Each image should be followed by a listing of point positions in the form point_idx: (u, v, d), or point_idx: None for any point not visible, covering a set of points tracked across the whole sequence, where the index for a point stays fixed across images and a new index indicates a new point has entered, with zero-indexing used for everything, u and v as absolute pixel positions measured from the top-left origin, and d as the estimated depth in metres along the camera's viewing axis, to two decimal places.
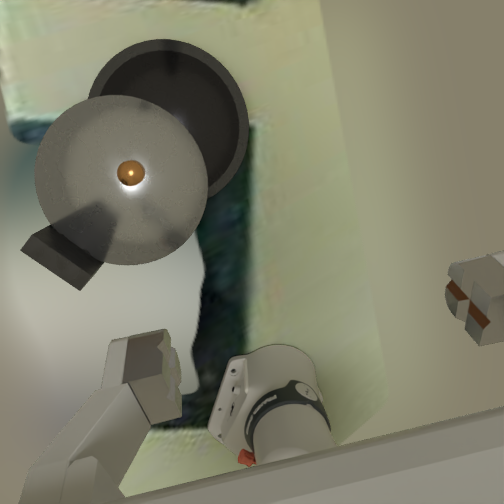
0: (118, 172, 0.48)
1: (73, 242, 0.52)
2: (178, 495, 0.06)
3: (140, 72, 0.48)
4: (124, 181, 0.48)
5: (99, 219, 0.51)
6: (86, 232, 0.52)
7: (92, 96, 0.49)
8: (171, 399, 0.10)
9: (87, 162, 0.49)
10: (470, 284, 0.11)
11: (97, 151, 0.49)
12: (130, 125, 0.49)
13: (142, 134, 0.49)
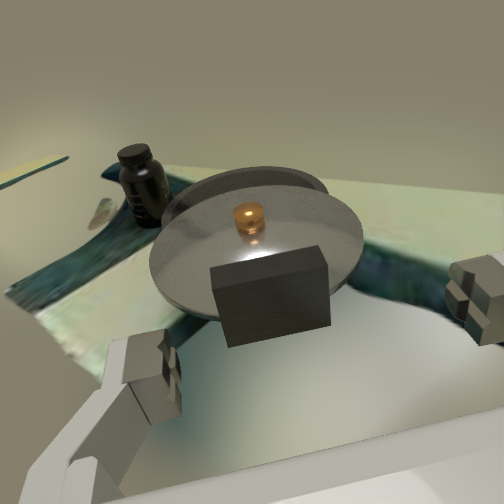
0: (238, 215, 0.40)
1: None
2: (178, 495, 0.06)
3: (190, 203, 0.50)
4: (250, 215, 0.40)
5: None
6: None
7: None
8: (171, 399, 0.10)
9: (205, 249, 0.40)
10: (470, 284, 0.11)
11: (206, 239, 0.41)
12: (214, 212, 0.45)
13: (228, 208, 0.45)
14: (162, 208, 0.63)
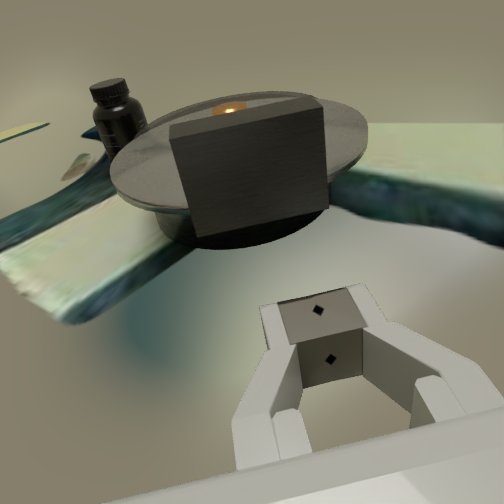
0: (216, 112, 0.33)
1: None
2: (178, 495, 0.06)
3: None
4: (231, 110, 0.33)
5: None
6: None
7: None
8: (328, 362, 0.10)
9: None
10: None
11: None
12: None
13: None
14: None
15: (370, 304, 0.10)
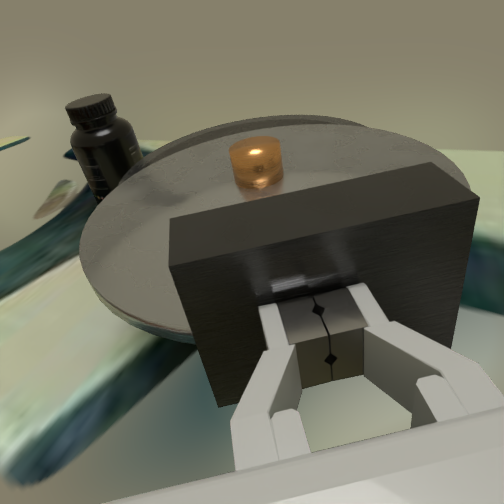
0: (237, 154, 0.23)
1: None
2: (178, 495, 0.06)
3: None
4: (258, 152, 0.23)
5: None
6: None
7: None
8: (327, 362, 0.10)
9: (181, 214, 0.22)
10: None
11: (183, 198, 0.24)
12: (199, 162, 0.28)
13: (222, 156, 0.28)
14: None
15: (371, 304, 0.10)
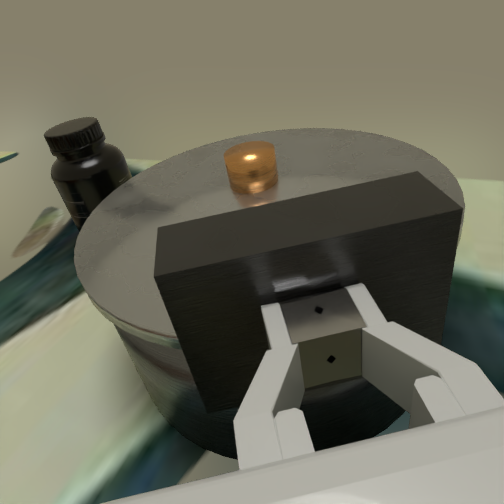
0: (231, 159, 0.23)
1: None
2: (178, 495, 0.06)
3: None
4: (252, 158, 0.23)
5: None
6: None
7: None
8: (329, 362, 0.10)
9: (176, 219, 0.23)
10: None
11: (178, 203, 0.24)
12: (195, 166, 0.28)
13: (218, 161, 0.28)
14: None
15: (369, 304, 0.10)
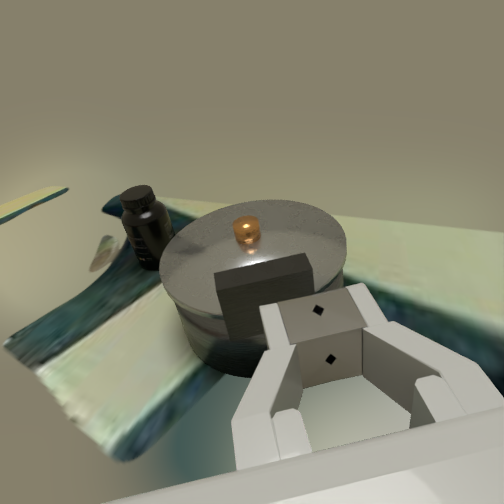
0: (236, 227, 0.45)
1: None
2: (178, 495, 0.06)
3: None
4: (247, 227, 0.45)
5: None
6: None
7: None
8: (328, 362, 0.10)
9: (209, 258, 0.45)
10: None
11: (209, 248, 0.46)
12: (215, 224, 0.51)
13: (228, 221, 0.51)
14: None
15: (370, 304, 0.10)
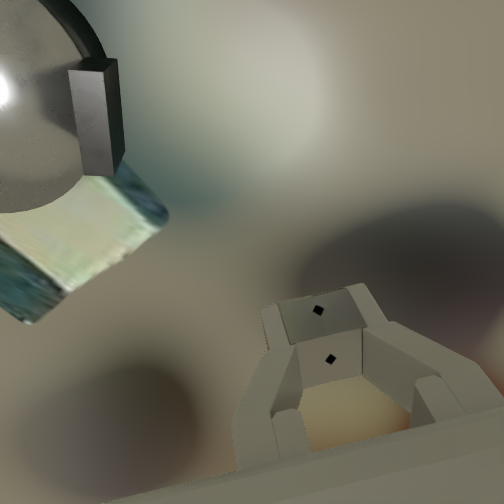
0: None
1: None
2: (178, 495, 0.06)
3: None
4: None
5: (33, 101, 0.34)
6: (64, 107, 0.35)
7: None
8: (328, 362, 0.10)
9: None
10: None
11: None
12: None
13: None
14: None
15: (370, 304, 0.10)
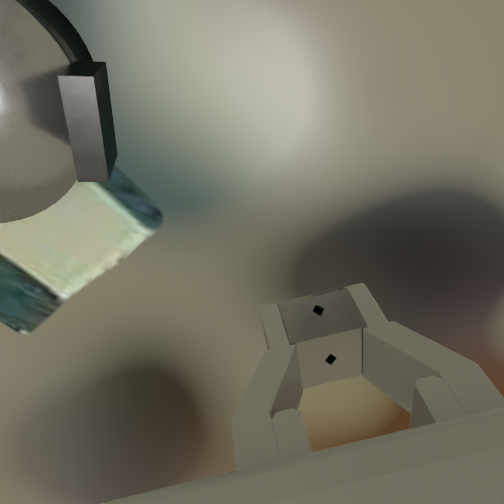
0: None
1: None
2: (178, 495, 0.06)
3: None
4: None
5: (21, 108, 0.34)
6: (54, 113, 0.34)
7: None
8: (328, 362, 0.10)
9: None
10: None
11: None
12: None
13: None
14: None
15: (370, 304, 0.10)
